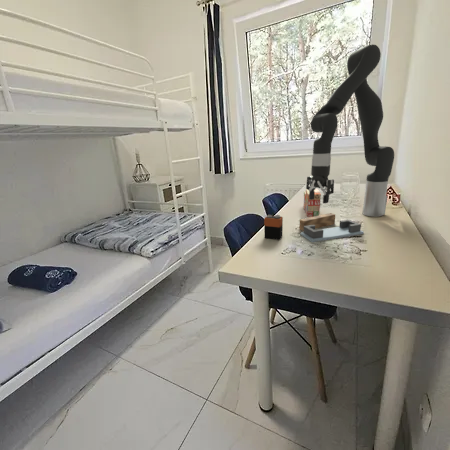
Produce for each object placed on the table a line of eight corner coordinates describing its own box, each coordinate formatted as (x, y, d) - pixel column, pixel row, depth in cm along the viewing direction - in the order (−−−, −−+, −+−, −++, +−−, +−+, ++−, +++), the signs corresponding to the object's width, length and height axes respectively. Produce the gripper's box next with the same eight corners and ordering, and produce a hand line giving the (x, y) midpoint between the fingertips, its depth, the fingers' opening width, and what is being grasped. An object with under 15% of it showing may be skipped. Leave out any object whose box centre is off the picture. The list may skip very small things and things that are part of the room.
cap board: (348, 227, 114) (349, 218, 112) (363, 233, 105) (364, 224, 104) (300, 234, 109) (300, 225, 108) (311, 242, 101) (312, 232, 99)
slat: (329, 222, 121) (330, 212, 120) (334, 224, 119) (335, 214, 117) (299, 229, 115) (299, 219, 114) (303, 231, 113) (304, 221, 111)
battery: (279, 240, 105) (280, 217, 101) (264, 238, 108) (263, 216, 104) (282, 236, 108) (282, 214, 105) (267, 234, 111) (267, 213, 108)
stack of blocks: (303, 206, 152) (304, 186, 148) (314, 206, 150) (315, 185, 146) (306, 216, 132) (308, 193, 128) (319, 216, 131) (321, 193, 127)
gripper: (302, 164, 113) (301, 199, 118) (326, 166, 100) (323, 205, 106) (316, 162, 116) (313, 197, 121) (340, 164, 103) (337, 203, 108)
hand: (318, 201), depth 113 cm, fingers open, 8 cm apart
